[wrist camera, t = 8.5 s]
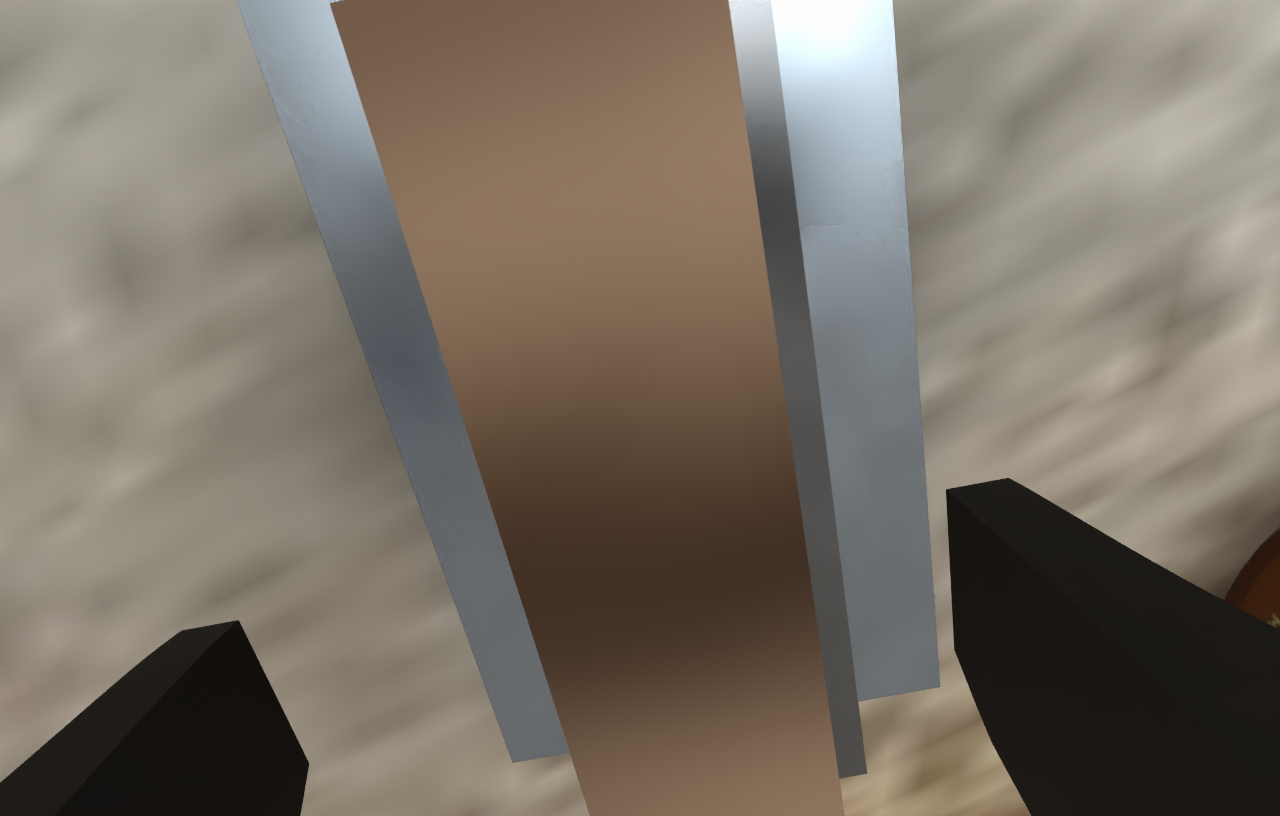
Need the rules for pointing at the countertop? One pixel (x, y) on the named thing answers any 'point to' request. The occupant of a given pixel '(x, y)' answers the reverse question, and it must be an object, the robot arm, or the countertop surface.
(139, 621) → the countertop surface
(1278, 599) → the food container
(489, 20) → the door panel
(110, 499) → the countertop surface
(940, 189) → the countertop surface
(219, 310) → the countertop surface
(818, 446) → the track
